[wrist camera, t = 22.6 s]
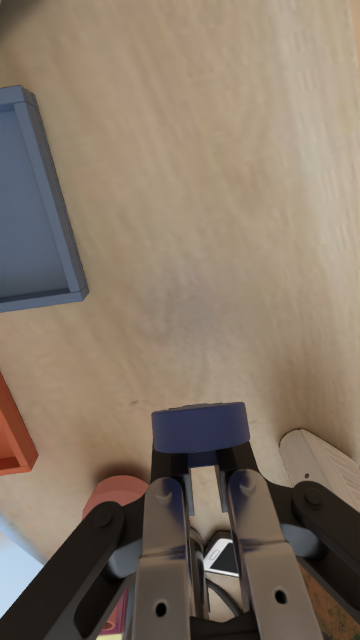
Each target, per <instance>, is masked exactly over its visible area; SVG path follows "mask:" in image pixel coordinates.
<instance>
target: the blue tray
mask: <svg viewBox="0 0 360 640" xmlns="http://www.w3.org/2000/svg"><path fill="white" fill-rule="evenodd" d="M88 293H89V290H88V287H87V283H86V280H85V276H84V272H83V269H82V265H81V262H80V258H79V254H78V251H77V247H76V244H75V240H74V236H73V233H72V229H71V226H70V222H69V218H68V215H67V211H66V207H65V204H64V200H63V197H62V193H61V189H60V186H59V182H58V179H57V175H56V171H55V168H54V164H53V161H52V157H51V153H50V150H49V146H48V143H47V139H46V135H45V132H44V128H43V124H42V121H41V117H40V114H39V110H38V106H37V103H36V99H35V96H34V94H32V93H31V92H29V91H28V90H27V89H25V88H24V87H22V86H21V85H17V86H11V87H4V88H0V313H2V312H9V311H16V310H23V309H30V308H37V307H44V306H50V305H57V304H64V303H71V302H78V301H83V300H84V299H85V297H86V296H87V295H88Z"/></svg>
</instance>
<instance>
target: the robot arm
mask: <svg viewBox="0 0 360 640" xmlns="http://www.w3.org/2000/svg"><path fill="white" fill-rule="evenodd" d="M215 404H222V403H215ZM178 408H181V407H178ZM169 409H177V408H169ZM215 454H216V462H217V465H214V466H215V472H216V478H217V484H218V490H219V495H220V501H221V507H222V513H224V512H228V514H229V519H230V525H231V536H232V542H233V547H234V553H235V559H236V564H237V570H238V576H239V581H240V587H241V594H242V601H243V609H244V613H243V614H240V612H239V610H238V608H237V606H236V605H235V603H234V602H233V601H232V600H231V599H230V597H229V596H228V595H227V594H226V593H225V591H224V590H223V589H222V588H220V587H219V586H218V585H216V584H215V583H213V582H212V581H210V580H208V579H205V571H204V561H203V543H202V539H201V537H200V535H199V534H198V533H197V532H196V531H195V530H193V529H192V528H190V522H189V516H194V504H193V492H192V480H191V468H189V460H188V453H163V452H159V451H156V450H155V449H154V442H153V450H152V465H151V481H150V485H149V487H148V488H147V490H146V492H145V493H144V494H143V495H142V496H141V497H140V498H138V499H137V500H135V501H133V502H131V503H129V504H126V505H124V506H121V505H120V504H119V503H117V502H115V501H105V502H102V503H100V504H98V505H96V506H95V507H94V508H93V509H92V510H91V511H90V512H89V513H88V514H87V516H86V517H85V518H84V519H83V520H82V522H81V523H80V524H79V525H78V526H77V528H76V529H75V530H74V531H73V532H72V534H71V535H70V536H69V537H68V538H67V540H66V541H65V542H64V543H63V544H62V546H61V547H60V548H59V549H58V550H57V552H56V553H55V554H54V555H53V556H52V558H51V559H50V560H49V561H48V562H47V564H46V565H45V566H44V567H43V568H42V570H41V571H40V572H39V573H38V575H37V576H36V577H35V578H34V579H33V580H32V582H31V583H30V584H29V585H28V586H27V588H26V589H25V590H24V591H23V592H22V594H21V595H20V596H19V597H18V599H17V600H16V601H15V602H14V603H13V604H12V606H11V607H10V608H9V609H8V610H7V612H6V613H5V614H4V615H3V616H2V618H1V619H0V640H96V639H97V637H98V636H99V634H100V632H101V630H102V629H103V627H104V625H105V624H106V622H107V620H108V619H109V617H110V615H111V614H112V612H113V610H114V609H115V607H116V605H117V604H118V602H119V600H120V599H121V597H122V595H123V594H124V592H125V590H126V588H127V591H126V601H125V611H124V621H123V631H122V640H333V639H332V638H330V637H329V636H328V635H327V634H326V633H325V632H323V631H322V630H321V629H320V627H319V624H318V621H317V618H316V615H315V612H314V609H313V606H312V603H311V600H310V597H309V594H308V591H307V588H306V585H305V583H304V580H303V577H302V574H301V571H300V568H299V565H298V563H299V564H300V565H301V566H302V567H303V568H304V569H305V570H306V571H307V572H308V573H309V574H310V575H311V576H312V577H313V578H314V579H315V580H316V581H317V582H318V583H319V584H320V585H321V586H322V587H323V588H324V590H325V591H326V592H327V593H328V594H329V595H330V596H331V597H332V598H333V599H334V600H335V601H336V602H337V603H338V604H339V605H340V606H341V607H342V608H343V609H344V610H345V611H346V612H347V613H348V614H349V615H350V616H351V617H352V618H353V619H354V620H355V621H356V622H357V623H358V624H359V625H360V513H359V512H358V511H357V510H355V509H354V508H353V507H351V506H350V505H349V504H347V503H346V502H345V501H343V500H342V499H341V498H339V497H338V496H337V495H335V494H334V493H333V492H331V491H330V490H329V489H327V488H326V487H325V486H323V485H321V484H319V483H317V482H314V481H301V482H299V483H297V484H296V485H295V486H294V488H290V487H285V486H280V485H276V484H274V483H272V482H270V481H268V480H267V479H266V478H264V477H263V476H262V474H261V473H260V471H259V469H258V467H257V464H256V461H255V457H254V454H253V451H252V448H251V445H250V442H249V441H247V442H246V443H243V444H241V445H237V446H234V447H229V448H224V449H218V450H215ZM208 587H209V588H211V589H212V590H214V591H215V592H216V593H217V594H218V595H219V596H220V597H221V599H222V600H223V601H224V602H225V603H226V605H227V606H228V607H229V608H230V609H231V610H232V612H233V613H234V615H235V618H233V619H231V620H229V621H227V622H224V623H219V622H215V621H211V620H209V613H210V604H209V594H208Z"/></svg>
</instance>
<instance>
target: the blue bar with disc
mask: <svg viewBox="0 0 360 640" xmlns="http://www.w3.org/2000/svg"><path fill="white" fill-rule="evenodd" d="M151 416H152V429H153V442H154V449H155V450H156V451H159V452H163V453H188V460H189V468H195V467H204V466H213V465H217V462H216V454H215V450H218V449H224V448H229V447H234V446H237V445H241V444H243V443H246V442H247V441H249V440H250V433H249V426H248V420H247V414H246V408H245V404H244V402H233V403H222V404H206V403H204V404H195V405H186V406H183V407H181V408H177V409H169V410H161V411H155V412H153V413H152V415H151Z"/></svg>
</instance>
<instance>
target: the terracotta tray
mask: <svg viewBox="0 0 360 640" xmlns="http://www.w3.org/2000/svg"><path fill="white" fill-rule="evenodd" d="M37 458H38V453H37V451H36V449H35V447H34V444H33V442H32V440H31V438H30V436H29V434H28V431H27V429H26V427H25V425H24V423H23V420H22V418H21V416H20V414H19V412H18V410H17V407H16V405H15V403H14V401H13V399H12V397H11V394H10V392H9V390H8V388H7V386H6V383H5V381H4V379H3V377H2V375H1V373H0V476H1V475H8V474H16V473H23V472H30V471H31V470H32V468H33V466H34V464H35V462H36V460H37Z"/></svg>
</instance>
